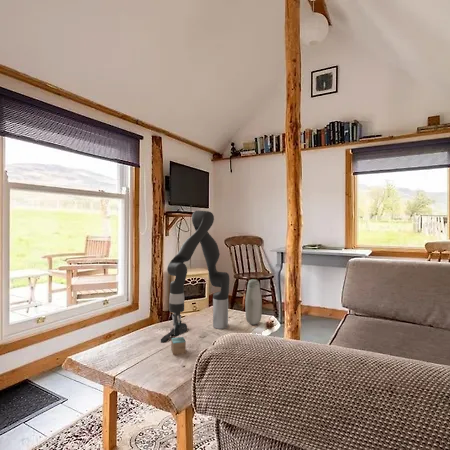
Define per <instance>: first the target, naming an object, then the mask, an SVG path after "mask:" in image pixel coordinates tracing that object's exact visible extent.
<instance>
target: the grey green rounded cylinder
mask: <svg viewBox="0 0 450 450" xmlns="http://www.w3.org/2000/svg"><path fill="white" fill-rule="evenodd" d="M262 299H263V297H262V292H261V285H260V281H259V280H258V279H255V278H252V279H249V281H248V282H247V289H246V294H245V300H244V301H245V303H244V304H245V319H246V322H247V323H249V324H250V325H252V326H253V325H254V326H255V325H258V324H259V323H260V322H261V321H262V316H263V315H262V313H263V312H262V311H263V310H262V308H263V302H262V301H263V300H262Z"/></svg>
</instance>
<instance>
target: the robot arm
mask: <svg viewBox="0 0 450 450" xmlns="http://www.w3.org/2000/svg"><path fill="white" fill-rule="evenodd" d="M191 222H192V225H193V228H194V230H195V231H194V232H193V233H192V234H191V235H190V236H189V237H187V238H186V240H185V241H183V244H182V245H181V247H180V248H179V251H178V252H177V254H176V255H174V257H173V258H171V260H170V261H169V263H168V264H167V269H166V271H167V273H168V275H169V276H173V277H175V278H174V280H172V281H171V282H170V284H169V285H170V286H169V297H168V298H169V304H168V310H169V312H170V313H172V314H171V318H172V325H173V326H172V327H173V328H174V335H173V336H174V338H177V337H180V335H179V329H180V327H181V323H183V321H182V315H181V313H183V312H184V311H185V282H186V279H187V275H188V267H187V265H186V264H185V263H186V262H189V261H190V260H191V259H192V256H193V254H195V253H194V252H195V251H196V249H197V247H198V245H199V244H200V246H201V250H202V254H203V257H204V259H205V263H206V266H207V272H208V277H209V281H210V284H211V286H213V287H215V288H220V290H219V291H216V292H214V293H213V295H212V327H213V328H214V329H219V330H221V329H222V330H223V329H226V328H229V293H230V275H229V273H228V272H225V271H218V270H217V267H216V266H217V263H218V261H219V259H220V254H221V253H220V248H219V246H218V243H217V241H216V240H215V239H214V238H213V236H212V234H210V233H209V231H210V229H211V228H212V226H213V224H214V222H215V215H214V213H213V212H211V211H209V210H194V211H193V213H192V215H191Z"/></svg>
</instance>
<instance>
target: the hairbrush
mask: <svg viewBox="0 0 450 450" xmlns="http://www.w3.org/2000/svg"><path fill="white" fill-rule="evenodd" d="M187 329H188V324H187V323H186V322H181V327H180V329H179V336H180V335H182V334H185V332H187ZM172 335H173V336H174V327H172V328H171V329H170V331H169V333H167V334H166V335H164V336H162V338H160V343H163V344H164V343H166V342H167V341H168V340H169V339H170V337H172Z"/></svg>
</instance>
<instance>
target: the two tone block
mask: <svg viewBox="0 0 450 450" xmlns="http://www.w3.org/2000/svg"><path fill="white" fill-rule="evenodd" d="M170 344H171V345H170V346H171V347H170V351H171V353H172V355H173V356H176V355H183V354H186V353H187V352H186V351H187V350H186V348H187V347H186V340H185V338H184V336H177V337H171V343H170Z"/></svg>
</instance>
